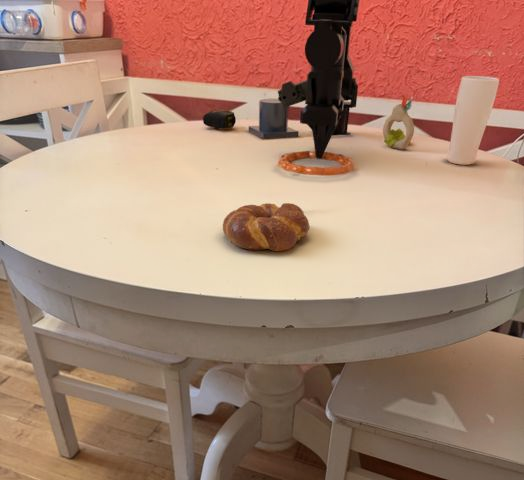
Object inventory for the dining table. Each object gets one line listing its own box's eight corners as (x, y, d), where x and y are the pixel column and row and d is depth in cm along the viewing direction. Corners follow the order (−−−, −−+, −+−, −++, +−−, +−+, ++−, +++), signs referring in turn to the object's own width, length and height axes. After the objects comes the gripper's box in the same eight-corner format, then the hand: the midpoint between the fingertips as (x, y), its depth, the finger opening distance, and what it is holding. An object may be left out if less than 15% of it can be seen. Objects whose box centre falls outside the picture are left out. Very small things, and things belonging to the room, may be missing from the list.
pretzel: (267, 215, 72) (268, 189, 69) (328, 236, 65) (331, 208, 63) (204, 236, 64) (202, 208, 62) (265, 262, 58) (266, 232, 56)
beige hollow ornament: (428, 149, 110) (439, 90, 103) (399, 152, 106) (409, 92, 100) (405, 142, 115) (414, 86, 108) (377, 145, 112) (385, 87, 105)
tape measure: (201, 128, 122) (201, 112, 120) (219, 124, 127) (219, 108, 125) (223, 132, 119) (223, 115, 117) (241, 128, 123) (240, 112, 121)
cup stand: (281, 129, 124) (283, 97, 120) (298, 136, 117) (300, 102, 113) (248, 131, 121) (248, 98, 117) (263, 139, 114) (264, 104, 110)
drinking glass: (462, 157, 104) (482, 75, 96) (485, 165, 99) (508, 79, 90) (435, 159, 102) (453, 76, 93) (457, 167, 97) (478, 80, 88)
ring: (329, 158, 100) (330, 148, 99) (368, 176, 90) (369, 165, 89) (265, 163, 96) (266, 153, 94) (299, 183, 85) (299, 171, 84)
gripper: (290, 59, 97) (286, 143, 106) (272, 67, 82) (269, 165, 91) (348, 61, 95) (339, 147, 104) (340, 70, 80) (330, 170, 89)
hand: (319, 156), depth 97 cm, fingers closed on ring, 2 cm apart
